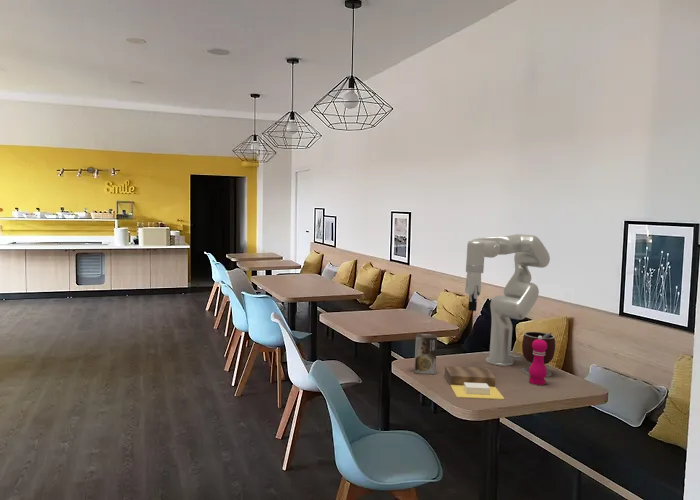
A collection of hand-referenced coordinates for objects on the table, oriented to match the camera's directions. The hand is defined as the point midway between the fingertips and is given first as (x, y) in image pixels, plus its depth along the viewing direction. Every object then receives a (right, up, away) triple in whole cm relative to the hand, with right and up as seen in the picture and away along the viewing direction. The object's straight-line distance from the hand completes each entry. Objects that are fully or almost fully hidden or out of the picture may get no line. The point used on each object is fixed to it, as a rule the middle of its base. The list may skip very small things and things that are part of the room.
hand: (472, 310), depth 242 cm
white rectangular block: (-4, -27, -27) cm, 39 cm away
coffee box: (-21, -27, -2) cm, 34 cm away
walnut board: (-4, -28, -13) cm, 31 cm away
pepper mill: (+25, -29, -11) cm, 40 cm away
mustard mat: (-4, -29, -27) cm, 40 cm away
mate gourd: (+30, -29, +3) cm, 41 cm away
